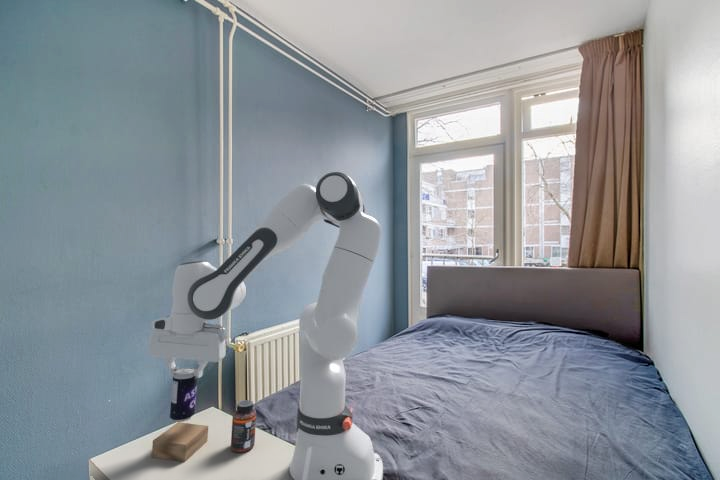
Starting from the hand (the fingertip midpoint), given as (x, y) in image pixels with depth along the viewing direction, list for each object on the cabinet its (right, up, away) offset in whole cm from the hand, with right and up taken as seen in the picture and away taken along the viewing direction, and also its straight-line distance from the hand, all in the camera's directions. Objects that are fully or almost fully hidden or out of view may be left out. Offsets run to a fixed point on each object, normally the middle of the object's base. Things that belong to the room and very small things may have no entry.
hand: (185, 375), depth 84 cm
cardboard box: (-1, -19, -1) cm, 19 cm away
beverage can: (0, -11, -1) cm, 11 cm away
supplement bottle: (+15, -20, +1) cm, 24 cm away
